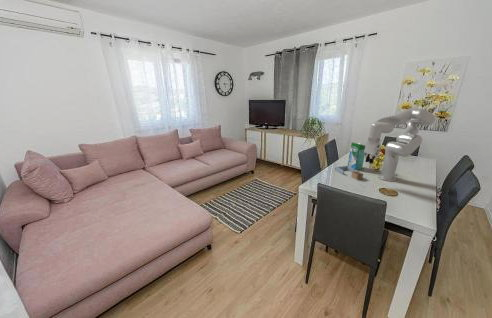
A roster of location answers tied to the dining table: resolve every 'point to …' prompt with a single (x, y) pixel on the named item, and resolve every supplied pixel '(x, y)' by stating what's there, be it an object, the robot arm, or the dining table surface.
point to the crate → (357, 175)
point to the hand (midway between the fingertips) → (369, 162)
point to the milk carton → (356, 156)
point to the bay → (341, 168)
